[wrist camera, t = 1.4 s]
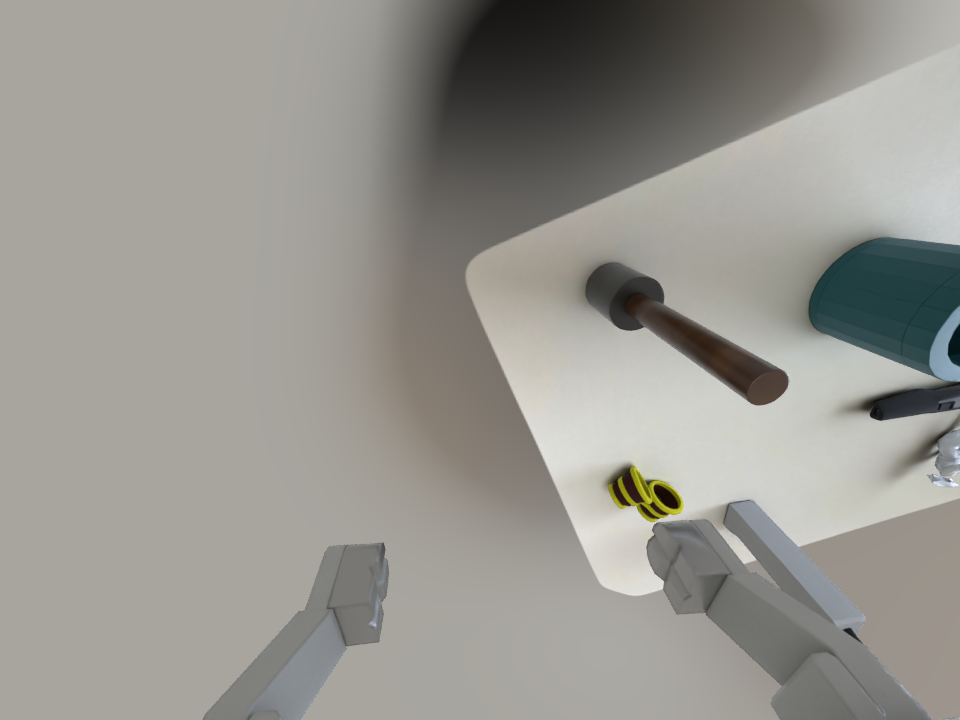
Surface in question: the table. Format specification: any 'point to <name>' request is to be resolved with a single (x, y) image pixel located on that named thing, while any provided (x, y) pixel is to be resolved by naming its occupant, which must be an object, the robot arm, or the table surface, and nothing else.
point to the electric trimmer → (917, 403)
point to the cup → (895, 303)
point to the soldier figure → (947, 459)
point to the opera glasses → (646, 496)
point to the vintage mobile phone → (791, 566)
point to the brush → (681, 332)
